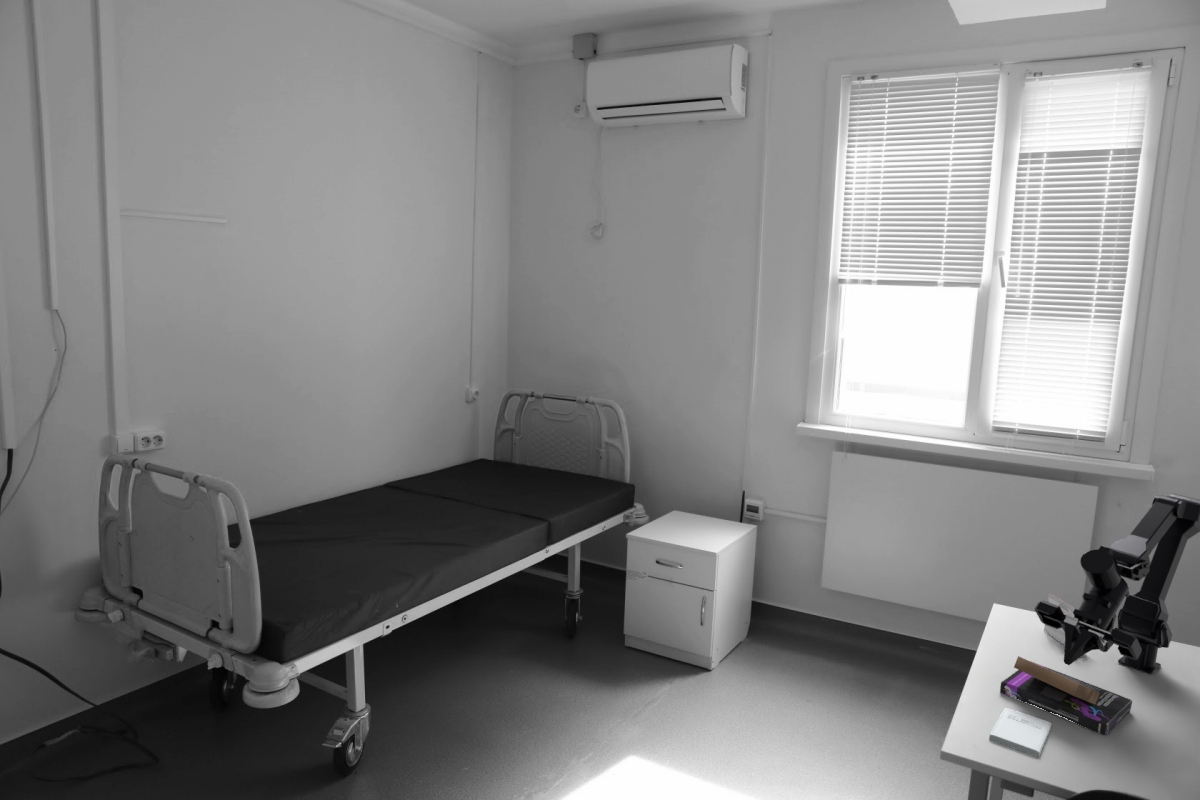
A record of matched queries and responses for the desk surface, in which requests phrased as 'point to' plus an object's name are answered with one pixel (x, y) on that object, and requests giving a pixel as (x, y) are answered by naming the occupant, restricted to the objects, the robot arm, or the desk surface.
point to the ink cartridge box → (1060, 633)
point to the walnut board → (1056, 680)
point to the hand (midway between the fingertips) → (1066, 663)
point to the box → (1069, 701)
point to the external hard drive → (1021, 731)
